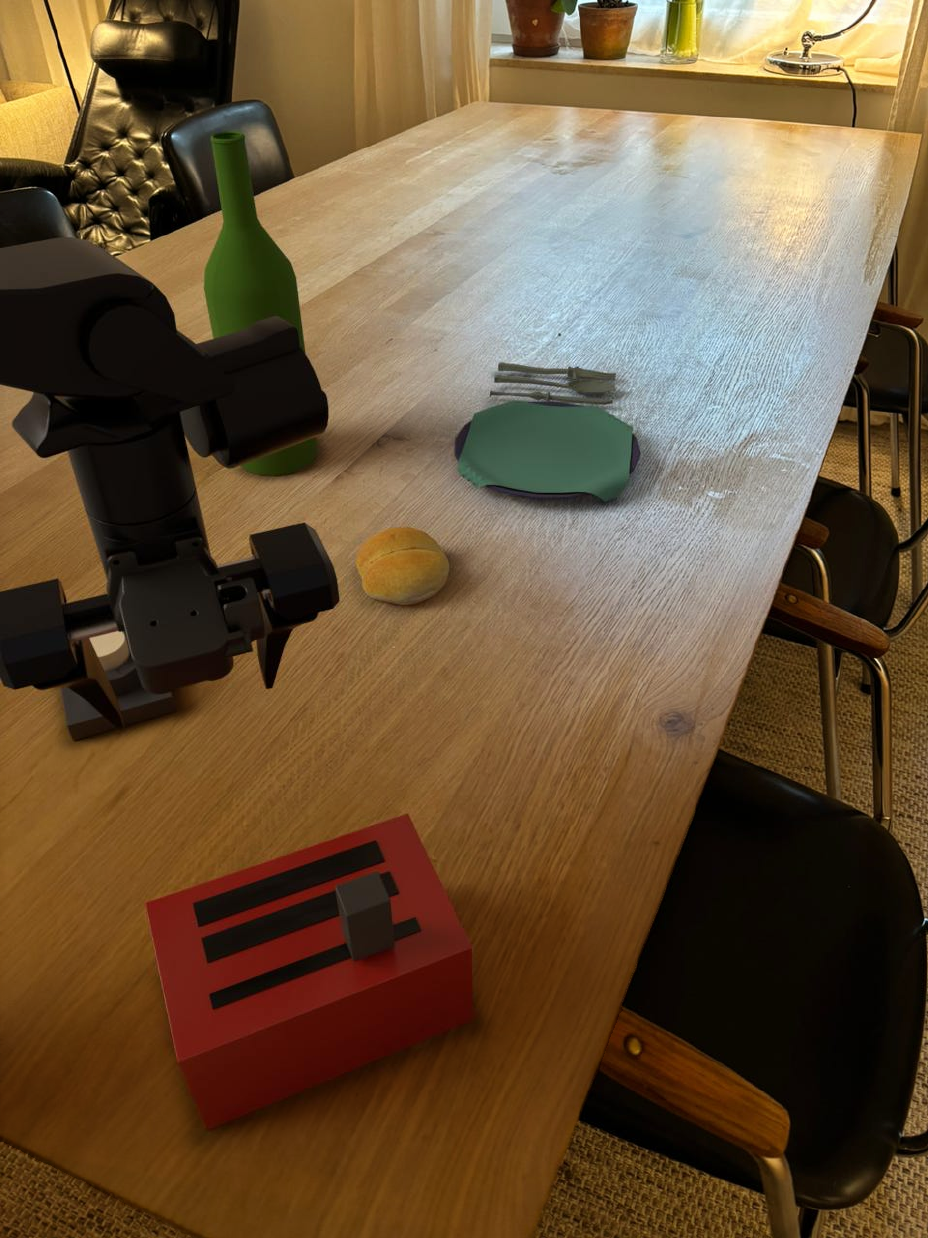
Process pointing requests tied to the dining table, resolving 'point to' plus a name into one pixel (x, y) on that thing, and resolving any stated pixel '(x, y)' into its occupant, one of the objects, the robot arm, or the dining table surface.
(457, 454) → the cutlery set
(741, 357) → the dining table surface
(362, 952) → the slider
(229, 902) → the toaster
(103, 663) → the button
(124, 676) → the block
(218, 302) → the wine bottle
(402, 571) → the bread roll
